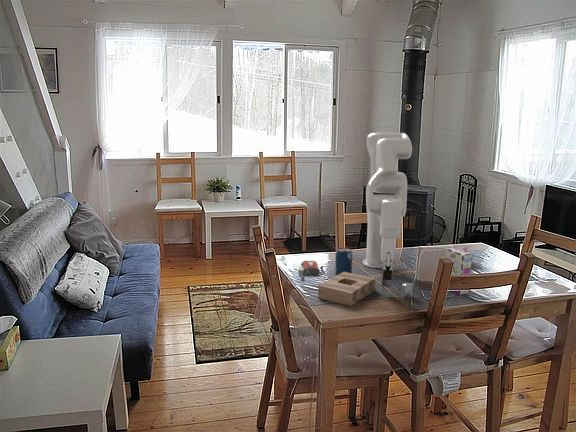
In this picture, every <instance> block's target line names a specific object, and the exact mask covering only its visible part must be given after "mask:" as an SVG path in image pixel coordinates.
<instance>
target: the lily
mask: <svg viewBox="0 0 576 432" xmlns="http://www.w3.org/2000/svg"><path fill="white" fill-rule="evenodd" d="M472 246H473V244H471V245H469V246H468V245H466V246H464V248H463V249H462V250H463V251H466V252H468V250H469V249H470V248H471V247H472Z"/></svg>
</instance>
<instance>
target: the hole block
mask: <svg viewBox="0 0 576 432" xmlns="http://www.w3.org/2000/svg"><path fill="white" fill-rule="evenodd" d="M317 287H318V290H317V298H318V299H322V300H325V301H330V302H333V303H337V304H341V305H345V306H349V307H352V306H353V305H355V304H356V303H358V302H360V301H361V300H363V299H364V298H366V297H367V296H368V295H370V294H372V293H373V292H375V290H376V278H375V277H372V276H367V275H362V274H358V273H354V272H352V273H348V272H342V273H340V274H339V275H337V276H336V275H335V276H334V277H331V278H330V279H328V280H326V281H324V282H322V283H320V284H318V286H317Z"/></svg>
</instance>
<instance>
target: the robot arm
mask: <svg viewBox="0 0 576 432" xmlns="http://www.w3.org/2000/svg"><path fill="white" fill-rule="evenodd" d="M366 148H367V152H368V155H369V158H370V179H369V180H368V183H367V184H366V188H365V202H366V203H365V206H366V213H367V214H366V215H367V216H366V217H367V231H366V232H367V233H366V256H365V257H366V258H364V259H363V260H362V265H364V266H365V267H368V268H373V269H382V270H383V262H384V261H385V262H384V270H383V280H392V270H391V269H392V263H393V262H395V258H396V257H395V256H396V248H397V238H400V237H401V222H402V218H403V217H405V216H406V213H407V203H408V202H407V201H408V199H407V198H408V178H407V175H406V174H405V173H404V172H401V171H399V166H398V163H399V162H398V160H408V159H410V158H411V157H412V154H413V146H412V141H411V139H410V137H409V136H408V134H407V133H405V132H384V131H382V132H372V133H370V134H368V135H367V137H366ZM374 193H377V194H374ZM386 260H387V262H386ZM390 261H391V262H390Z"/></svg>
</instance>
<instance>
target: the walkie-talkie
mask: <svg viewBox="0 0 576 432" xmlns="http://www.w3.org/2000/svg"><path fill="white" fill-rule="evenodd" d="M300 264H301V265H300V266H299V267H298V275H300V278H301V279H302V280H304V279H305V278H304V276H318V275H319V274H320V269H319V266H318V262H317V261H315V260H304V261H302V262H301V263H300Z"/></svg>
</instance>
